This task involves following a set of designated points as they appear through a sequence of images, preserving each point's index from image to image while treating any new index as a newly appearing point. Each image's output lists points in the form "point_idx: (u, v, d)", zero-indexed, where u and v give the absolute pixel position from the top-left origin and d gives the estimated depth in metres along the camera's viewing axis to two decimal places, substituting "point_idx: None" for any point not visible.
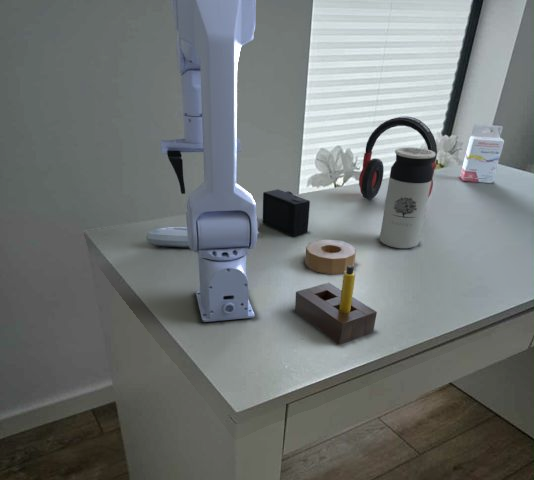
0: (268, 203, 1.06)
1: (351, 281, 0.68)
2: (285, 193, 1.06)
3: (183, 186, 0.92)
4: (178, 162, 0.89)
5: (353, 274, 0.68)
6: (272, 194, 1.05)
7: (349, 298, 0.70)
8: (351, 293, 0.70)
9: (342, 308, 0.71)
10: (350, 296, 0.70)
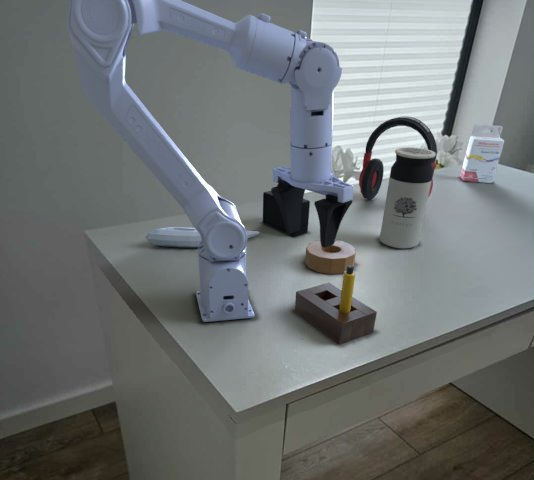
0: (268, 203, 1.06)
1: (351, 281, 0.68)
2: None
3: (286, 224, 0.76)
4: (277, 195, 0.73)
5: (353, 274, 0.68)
6: None
7: (349, 298, 0.70)
8: (351, 293, 0.70)
9: (342, 308, 0.71)
10: (350, 296, 0.70)
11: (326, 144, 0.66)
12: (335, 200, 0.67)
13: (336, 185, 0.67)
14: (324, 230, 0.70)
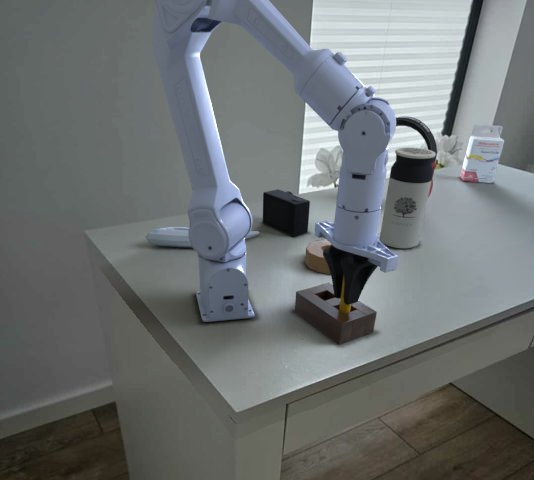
0: (268, 203, 1.06)
1: None
2: (285, 193, 1.06)
3: (335, 289, 0.70)
4: (329, 258, 0.67)
5: None
6: (272, 194, 1.05)
7: None
8: None
9: (342, 308, 0.71)
10: None
11: (367, 210, 0.61)
12: (362, 260, 0.64)
13: (380, 252, 0.62)
14: (348, 288, 0.67)
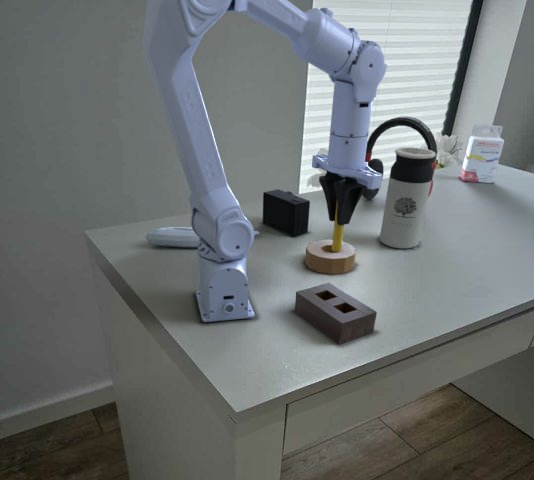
0: (268, 203, 1.06)
1: None
2: (285, 193, 1.06)
3: (329, 212, 0.81)
4: (324, 183, 0.78)
5: None
6: (272, 194, 1.05)
7: None
8: None
9: (335, 230, 0.82)
10: None
11: (366, 134, 0.73)
12: (352, 182, 0.75)
13: (367, 173, 0.73)
14: (340, 209, 0.78)
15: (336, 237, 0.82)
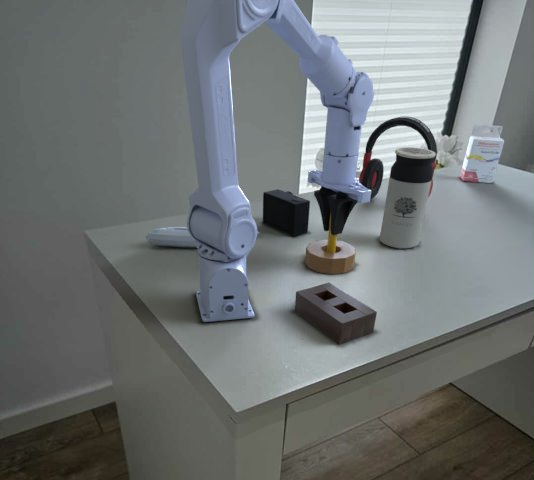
0: (268, 203, 1.06)
1: None
2: (285, 193, 1.06)
3: (324, 223, 0.89)
4: (319, 197, 0.86)
5: None
6: (272, 194, 1.05)
7: None
8: None
9: (329, 239, 0.90)
10: None
11: (357, 152, 0.81)
12: (344, 196, 0.83)
13: (357, 189, 0.81)
14: (334, 220, 0.86)
15: (330, 245, 0.90)
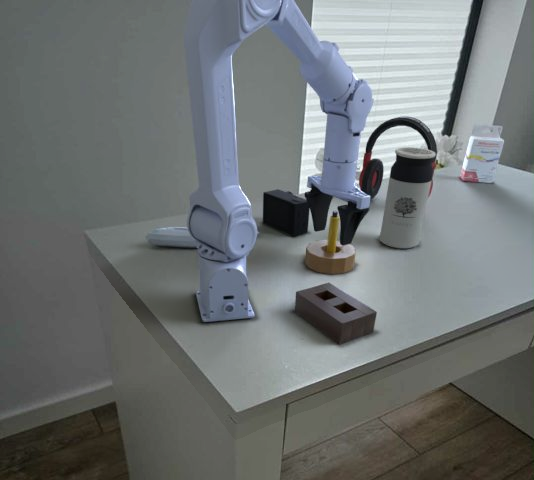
0: (268, 203, 1.06)
1: (336, 223, 0.88)
2: (285, 193, 1.06)
3: (314, 223, 0.91)
4: (309, 198, 0.88)
5: (337, 217, 0.88)
6: (272, 194, 1.05)
7: (334, 237, 0.89)
8: (336, 233, 0.89)
9: (329, 246, 0.90)
10: (335, 236, 0.89)
11: (356, 158, 0.82)
12: (354, 206, 0.81)
13: (357, 194, 0.81)
14: (343, 230, 0.84)
15: (329, 252, 0.91)
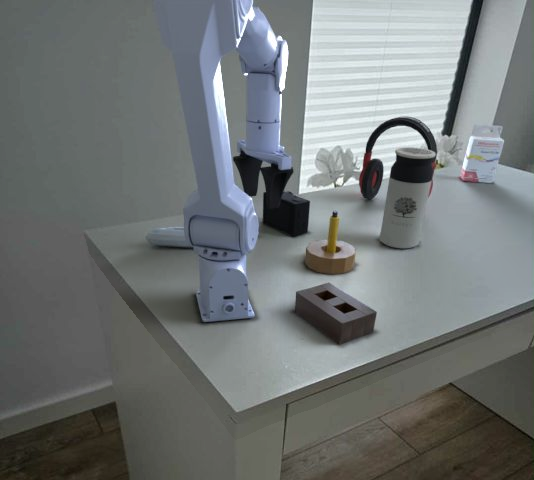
0: None
1: (336, 223, 0.88)
2: (285, 193, 1.06)
3: (244, 189, 0.91)
4: (237, 162, 0.88)
5: (337, 217, 0.88)
6: None
7: (334, 237, 0.89)
8: (336, 233, 0.89)
9: (329, 246, 0.90)
10: (335, 236, 0.89)
11: None
12: (277, 168, 0.81)
13: (278, 155, 0.81)
14: (268, 193, 0.84)
15: (329, 252, 0.91)
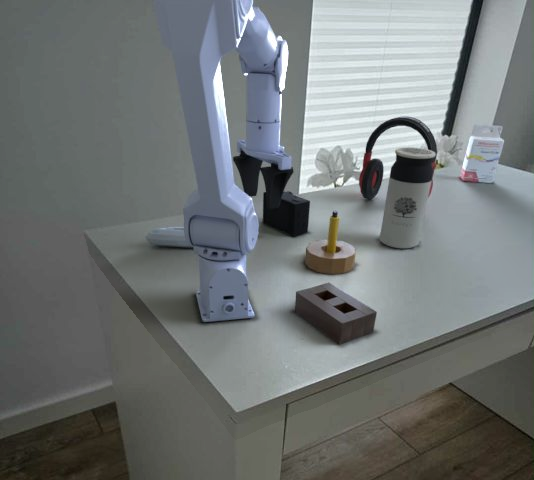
0: None
1: (336, 223, 0.88)
2: (285, 193, 1.06)
3: (244, 189, 0.91)
4: (237, 162, 0.88)
5: (337, 217, 0.88)
6: None
7: (334, 237, 0.89)
8: (336, 233, 0.89)
9: (329, 246, 0.90)
10: (335, 236, 0.89)
11: None
12: (277, 168, 0.81)
13: (278, 155, 0.81)
14: (268, 193, 0.84)
15: (329, 252, 0.91)
